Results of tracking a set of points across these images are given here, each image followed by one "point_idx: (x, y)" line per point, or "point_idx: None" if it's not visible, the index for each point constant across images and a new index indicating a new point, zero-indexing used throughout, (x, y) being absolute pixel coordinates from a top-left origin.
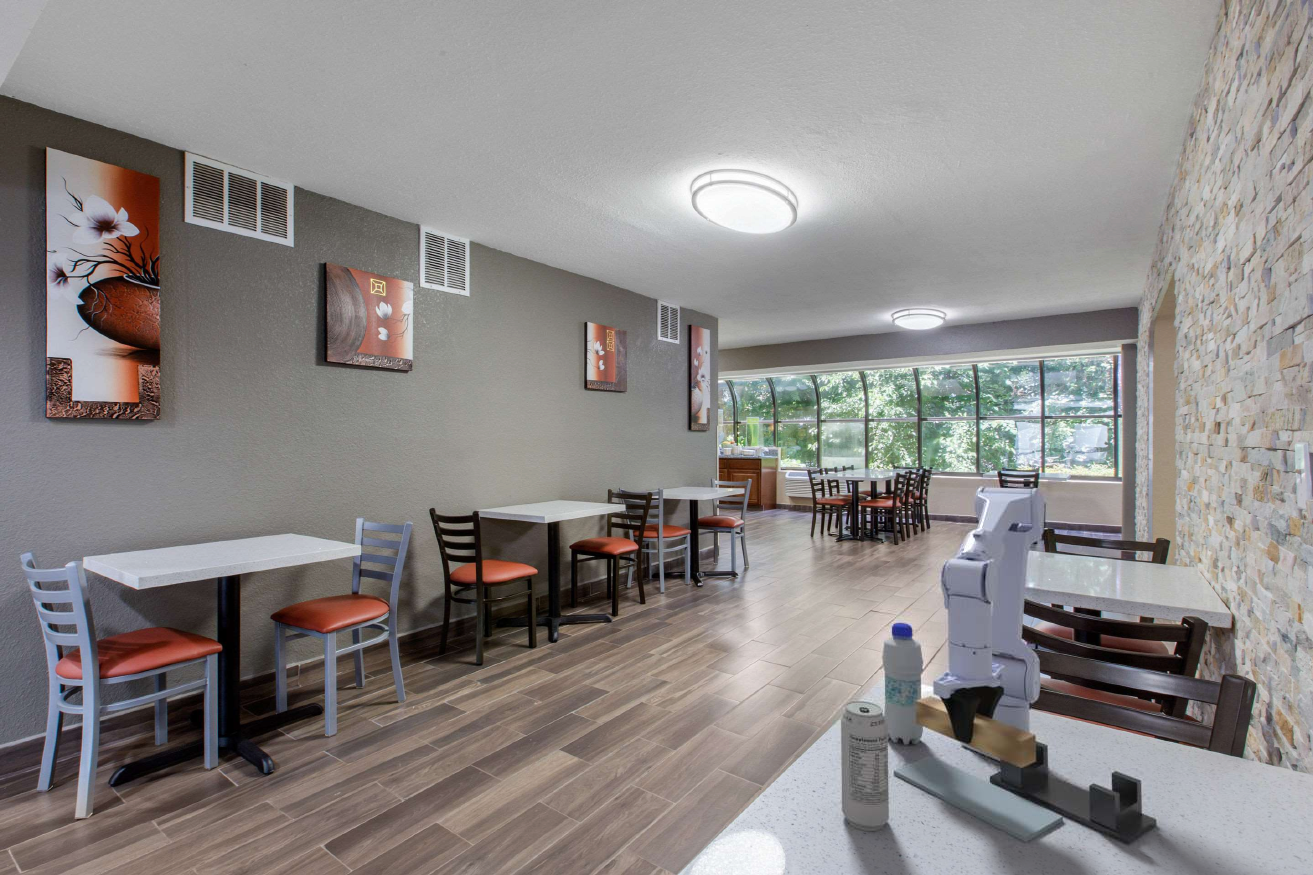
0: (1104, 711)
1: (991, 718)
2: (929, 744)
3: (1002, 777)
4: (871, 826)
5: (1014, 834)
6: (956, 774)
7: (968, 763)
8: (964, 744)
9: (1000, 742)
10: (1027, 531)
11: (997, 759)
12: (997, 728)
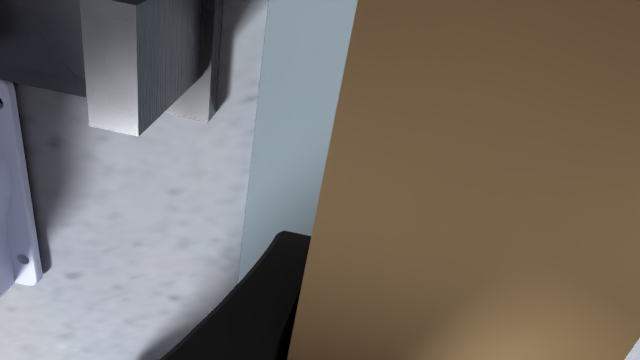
0: None
1: (232, 316)
2: (135, 342)
3: (197, 72)
4: None
5: None
6: (298, 218)
7: (145, 216)
8: (37, 270)
9: None
10: None
11: (22, 150)
12: (596, 195)
